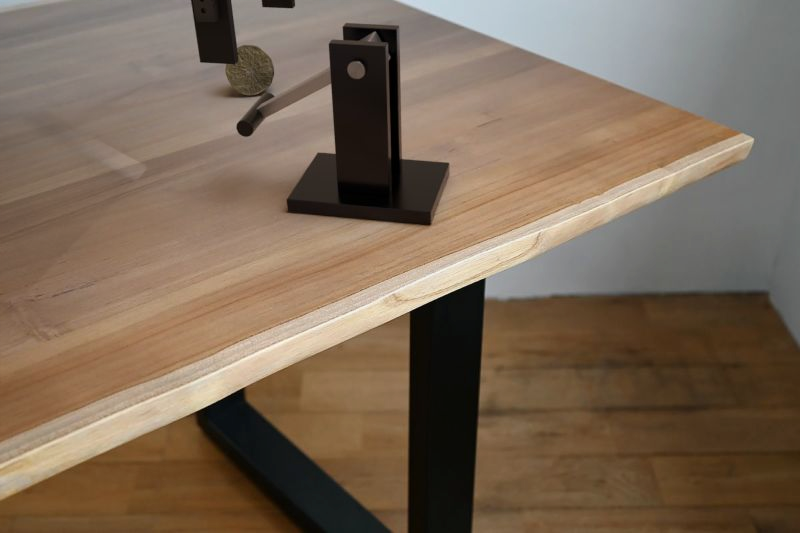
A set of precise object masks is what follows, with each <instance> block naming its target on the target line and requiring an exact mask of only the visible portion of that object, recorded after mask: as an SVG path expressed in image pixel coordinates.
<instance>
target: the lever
mask: <svg viewBox="0 0 800 533" xmlns="http://www.w3.org/2000/svg"><path fill="white" fill-rule="evenodd" d="M358 41H370V42H382V41H381V40H380V38H379V36H378V34H377V33H376V32H373V33H371V34H369V35H368V36H366V37H364V38H362V39H360V40H358ZM390 58H391V57H390V55H389V53H388V59H389V60H390ZM329 85H331V74H330V66H329V67H328V68H326V69H324V70H322V71H320V72H318V73H317V74H315V75H313V76H311V77H309V78H307V79H305V80H304V81H302V82H301V81H300V83H298V84H295V85H294V86H292V87H290V88H288V89H286V90H284V91H282V92H281V93H279V94H276V95H274V94H273V93H271V92H265V93H264V92H263V94H262V95H261V96H260V97H259V98H258V99H257V100H256V101H255V103H253V105H252V106H251V107H250V108H249V110H247V111H246V113H245V114H244V115H243V116H242V117H241V118H240V120H239V121H238V122H236V126H235V127H236V131H237V133H238V134H239V135H240V136H242V137H244V138H248V137H251V136H252V135H253V134H254V133H255V131H256V130H257V129H258V128H259V127H260V125H261V124H262V123H263V122H264V120H266V118H269V117H270V116H272V115H274V114H276V113H278V112H280V111H282V110H283V109H285V108H287V107H289V106H291V105H293V104H295V103H297V102H299V101H300V100H303V99H305V98H306V97H308V96H310V95H312V94H314V93H316V92H318V91H320V90H322V89H323V88H325V87H327V86H329Z"/></svg>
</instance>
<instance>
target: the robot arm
mask: <svg viewBox="0 0 800 533" xmlns="http://www.w3.org/2000/svg"><path fill="white" fill-rule="evenodd" d="M190 2H191V3H190V4H191V9H192V16H193V23H194V29H195V31H194V32H195V37H196V43H197V44H196V45H197V50H198V57H199V62H200V63H201V64H202V63H203V64H219V65H220V64H222V65H226V64H236V63H237V62H238V61H239V59H238V51H237V48H238V44H237V37H236V28H235V19H234V12H233V4H232V0H190ZM261 7H262V8H270V9H294V8H295V7H296V0H261Z"/></svg>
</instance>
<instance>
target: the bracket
mask: <svg viewBox="0 0 800 533" xmlns="http://www.w3.org/2000/svg"><path fill="white" fill-rule="evenodd" d="M373 32H376V33H377V34H378V36H379V38H380V40H381V41H382V42H370V41H358V40H360V39H362V38H364V37H366V36H368V35H369V34H371V33H373ZM400 32H401V31H400V25H396V24H395V25H393V24H377V23H375V24H373V23H357V22H356V23H355V22H345V23H344V24H343V25H342V39H331V40H330V41H329V43H328V56H329V67H330V74H331V84H330V87H331V88H330V89H331V102H332V104H331V105H332V120H333V135H334V152H335V153H332V152H331V153H329V152H316V155H315V156H314V157H313V159H312V160H311V162H310V163H309V165H308V166H307V168H306V169H305V171H304V173H303V174H302V176H301V177H300V178H299V180H298V182H297V183H296V185H295V186H294V187H293V189H292V190H291V193H289V195H288V196H287V198H286V209H287V212H288V213H297V214H308V215H317V216H318V215H319V216H328V217H329V216H330V217H339V218H340V217H341V218H352V219H362V220H373V221H382V222H383V221H384V222H394V223H405V224H415V225H426V226H431V224H432V223H433V220H434V217H435V214H436V212H437V210H438V206H439V203H440V201H441V198H442V196H443V194H444V193H443V192H444V190H445V187H446V184H447V181H448V179H449V176H450V162H446V161H432V160H421V159H420V160H419V159H406V158H403V145H402V144H403V141H402V140H403V138H402V136H403V135H402V96H401V94H402V93H401V85H402V84H401V41H400V39H401V38H400V35H401V34H400ZM388 53H389V55H390V57H391V58H390V60H389V59H388Z"/></svg>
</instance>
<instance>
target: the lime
mask: <svg viewBox="0 0 800 533" xmlns="http://www.w3.org/2000/svg"><path fill="white" fill-rule="evenodd" d="M237 51H238V59H239V61H238V62H237V63H236V64H225V70H224V71H225V76H226V78H227V80H228V83H229V84H230V86H231V87H232V88H233V89H234V90H235V91H236V92H237V93H239V94H241V95H243V96H257V95H259V94H261V93H264V92H265V90H267V89H268V88H270V86H271V85H272V84H273V80H274V76H275V67H274V64H273V63H274V62H273V60H272V58H271V57H270V55H269V54H268V53H266V51H264V50H263V49H262V48H261V47H260V46H258V45H252V44H243V45H240V46H237Z"/></svg>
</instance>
